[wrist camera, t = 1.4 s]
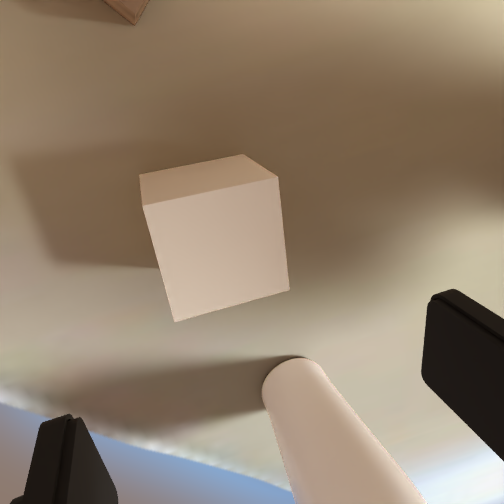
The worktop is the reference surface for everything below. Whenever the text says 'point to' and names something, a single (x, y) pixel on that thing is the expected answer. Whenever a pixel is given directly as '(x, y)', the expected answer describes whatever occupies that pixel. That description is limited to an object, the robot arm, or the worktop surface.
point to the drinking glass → (329, 442)
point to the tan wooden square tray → (128, 8)
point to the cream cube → (216, 233)
